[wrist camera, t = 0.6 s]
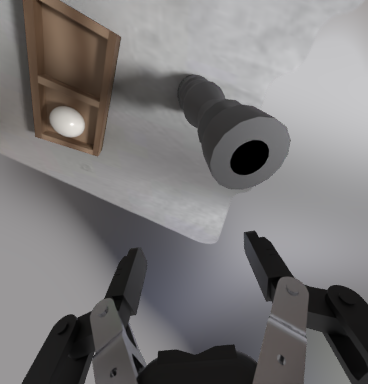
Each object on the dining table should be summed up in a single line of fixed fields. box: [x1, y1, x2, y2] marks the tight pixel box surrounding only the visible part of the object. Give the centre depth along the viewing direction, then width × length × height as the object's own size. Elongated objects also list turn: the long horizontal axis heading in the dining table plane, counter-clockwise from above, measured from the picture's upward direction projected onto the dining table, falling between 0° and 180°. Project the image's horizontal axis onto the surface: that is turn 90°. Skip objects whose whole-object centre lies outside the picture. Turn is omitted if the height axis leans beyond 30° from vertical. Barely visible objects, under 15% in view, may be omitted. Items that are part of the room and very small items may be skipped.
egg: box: [49, 106, 85, 137], centre depth 28 cm, size 5×5×5 cm
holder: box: [23, 0, 121, 156], centre depth 27 cm, size 10×20×3 cm, turn 154°
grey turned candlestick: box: [178, 75, 291, 189], centre depth 21 cm, size 6×6×25 cm
